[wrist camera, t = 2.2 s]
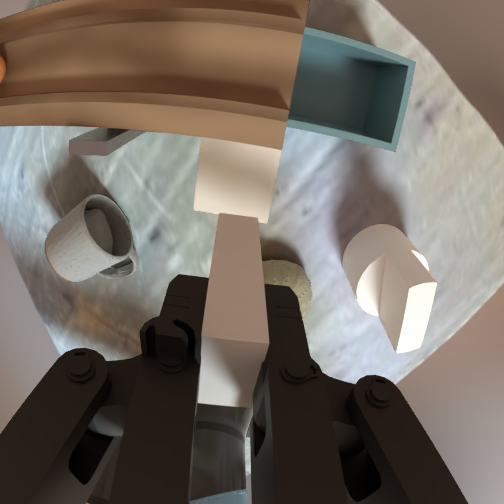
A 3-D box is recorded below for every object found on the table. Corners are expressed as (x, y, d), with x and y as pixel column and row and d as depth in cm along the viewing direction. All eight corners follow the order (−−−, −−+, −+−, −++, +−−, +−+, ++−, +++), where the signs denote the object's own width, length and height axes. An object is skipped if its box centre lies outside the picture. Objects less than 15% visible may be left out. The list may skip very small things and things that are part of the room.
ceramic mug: (58, 219, 34) (27, 252, 28) (102, 182, 32) (72, 211, 26) (110, 282, 39) (91, 321, 33) (157, 253, 37) (142, 293, 31)
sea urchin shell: (320, 257, 36) (320, 330, 34) (303, 272, 43) (302, 331, 41) (238, 252, 35) (235, 327, 33) (235, 268, 43) (232, 329, 41)
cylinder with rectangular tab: (342, 228, 36) (378, 291, 26) (411, 219, 36) (462, 274, 25) (341, 291, 41) (368, 360, 30) (404, 280, 40) (443, 342, 30)
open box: (365, 135, 31) (395, 152, 24) (268, 115, 30) (276, 124, 23) (380, 63, 27) (415, 62, 20) (283, 37, 26) (295, 24, 19)
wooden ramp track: (267, 217, 22) (264, 236, 20) (-5, 175, 23) (-26, 186, 20) (309, 1, 15) (312, -12, 12) (0, 21, 16) (-23, 21, 13)
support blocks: (254, 141, 31) (262, 175, 21) (42, 127, 29) (-27, 156, 18) (278, 9, 24) (299, -28, 14) (53, 9, 22) (-16, -4, 11)
